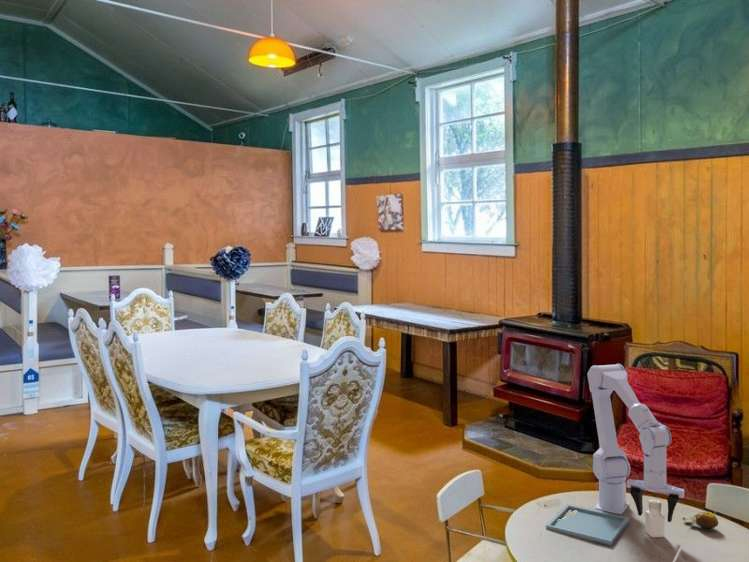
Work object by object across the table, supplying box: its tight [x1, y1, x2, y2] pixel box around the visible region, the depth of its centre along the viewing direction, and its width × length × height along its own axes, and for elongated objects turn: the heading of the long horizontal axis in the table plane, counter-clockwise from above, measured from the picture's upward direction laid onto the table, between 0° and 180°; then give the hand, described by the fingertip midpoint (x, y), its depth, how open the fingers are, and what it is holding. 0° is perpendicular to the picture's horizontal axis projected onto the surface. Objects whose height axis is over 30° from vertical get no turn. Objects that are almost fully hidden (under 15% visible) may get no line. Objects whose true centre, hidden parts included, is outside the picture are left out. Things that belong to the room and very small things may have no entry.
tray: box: [545, 504, 629, 547], centre depth 183 cm, size 18×18×2 cm
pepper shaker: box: [644, 499, 665, 538], centre depth 177 cm, size 4×4×10 cm
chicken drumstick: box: [682, 511, 719, 530], centre depth 183 cm, size 8×8×4 cm
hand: (654, 517), depth 177 cm, fingers open, 7 cm apart
